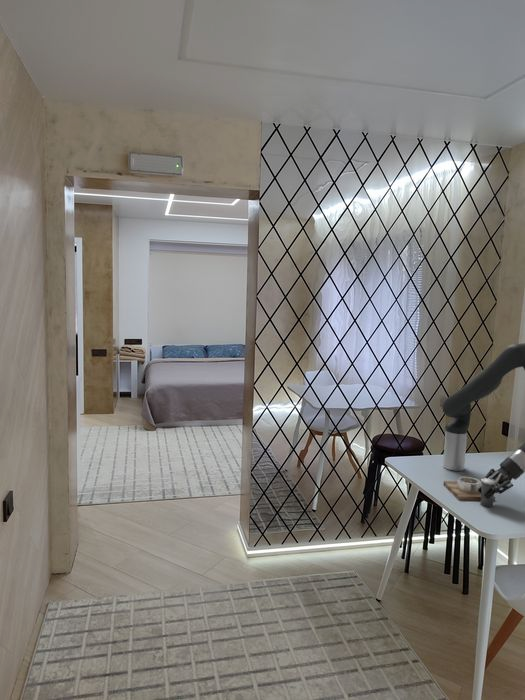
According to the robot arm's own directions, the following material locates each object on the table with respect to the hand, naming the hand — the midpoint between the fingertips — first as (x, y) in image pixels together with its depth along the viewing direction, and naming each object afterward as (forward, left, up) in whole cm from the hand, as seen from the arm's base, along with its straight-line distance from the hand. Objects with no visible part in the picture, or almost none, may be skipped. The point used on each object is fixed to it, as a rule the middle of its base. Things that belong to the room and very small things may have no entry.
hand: (482, 494), depth 189 cm
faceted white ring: (-12, 0, -3) cm, 12 cm away
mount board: (-12, 0, -4) cm, 13 cm away
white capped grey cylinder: (0, +2, -4) cm, 5 cm away
